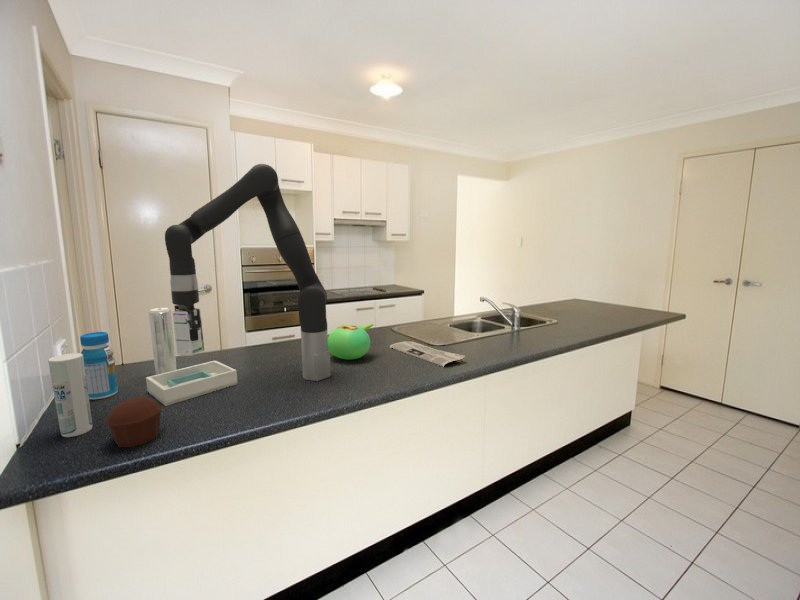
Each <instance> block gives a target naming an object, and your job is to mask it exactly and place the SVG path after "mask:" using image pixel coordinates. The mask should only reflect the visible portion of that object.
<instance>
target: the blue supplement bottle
mask: <svg viewBox="0 0 800 600" xmlns="http://www.w3.org/2000/svg"><path fill="white" fill-rule="evenodd" d="M79 339H80V340H79V341H80V345H81V347H83V349H82V350H81V352H80V353H81V354H82V355H83V359H84V367H85V374H86V381H87V389H88V396H89V400H93V401H94V400H101V399H102V400H103V399H106V398H110V397H112V396H114V395H115V394H118V392H119V387H118V379H117V372H116V360H115V358H114V356H113V355H114V350H113V349H112V348H111V347H110V346H109V341H110V339H109V334H108V332H107V331H95V332H94V331H93V332H88V333H84V334H81V335H80V337H79Z"/></svg>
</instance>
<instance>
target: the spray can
mask: <svg viewBox="0 0 800 600" xmlns="http://www.w3.org/2000/svg"><path fill="white" fill-rule="evenodd" d="M47 362H48V367H49V373H50V379H51V385H52V390H53V391H52V392H53V396H54V403H55V407H56V415H57V419H58V425H59V426H58V427H59V430H60V431H59V432H60V435H61V436H62V437H64V438H71V437H77V436H80V435H84V434H86V433H88V432H89V431H92V429H93V419H92V412H91V406H90V404H91V403H90V399H89V396H88V389H87V381H86V374H85V367H84V359H83V355H82V354H81V352H80V353H79V352H77V353H76V352H73V353H72V352H71V353H65V354H60V355H56V356H52V357H50V358H48V361H47Z"/></svg>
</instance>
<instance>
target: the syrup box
mask: <svg viewBox="0 0 800 600" xmlns="http://www.w3.org/2000/svg"><path fill="white" fill-rule="evenodd" d="M194 308H195V309H199V311H200V323H201V327H200V328H198V340H196V341H191V340H190V332H189V330H190V329H189V326H188V323H185V317H186V319H187V320H190V316H189V314H188V312H186V311H181V310H180V311H175V310H174V311H172V313H171V315H172V323H173V332H174V337H175V339H174V341H175V347H176V354H177V355H178V356H186V357H187V356H188V357H192V356H195V355H197V354H199V353H202V352H204V351H205V343H204V334H203V324H202V316H201V315H202V314H201V309H200V308H196V307H194ZM194 325H195V324H194Z"/></svg>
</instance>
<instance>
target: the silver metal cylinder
mask: <svg viewBox="0 0 800 600" xmlns="http://www.w3.org/2000/svg"><path fill="white" fill-rule="evenodd" d="M148 319H149V327H150V337H151V346H152V352H153V353H152V354H153V360H154V373H155V375H158V374H162V373H166V372H170V371H174V370H178V369H177V361H176V351H175V342H174V341H175V339H174V329H173V319H172V313H171V310H170V308H169V307H157V308H155V307H154V308H152V309H149V312H148Z"/></svg>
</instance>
